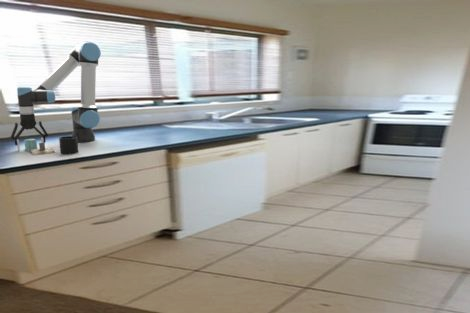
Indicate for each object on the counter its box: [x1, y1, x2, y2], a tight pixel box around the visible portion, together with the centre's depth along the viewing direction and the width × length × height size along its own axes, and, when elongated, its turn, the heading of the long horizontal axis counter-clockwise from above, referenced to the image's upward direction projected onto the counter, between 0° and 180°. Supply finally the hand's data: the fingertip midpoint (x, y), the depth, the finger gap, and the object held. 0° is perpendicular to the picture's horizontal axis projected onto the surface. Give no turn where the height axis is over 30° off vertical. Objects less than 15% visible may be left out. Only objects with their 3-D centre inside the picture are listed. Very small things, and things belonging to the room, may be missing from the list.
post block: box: [30, 142, 56, 156], centre depth 209 cm, size 11×11×5 cm
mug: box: [58, 135, 79, 155], centre depth 209 cm, size 9×12×9 cm
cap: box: [23, 138, 38, 152], centre depth 216 cm, size 6×6×6 cm
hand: (31, 149), depth 216 cm, fingers open, 12 cm apart
